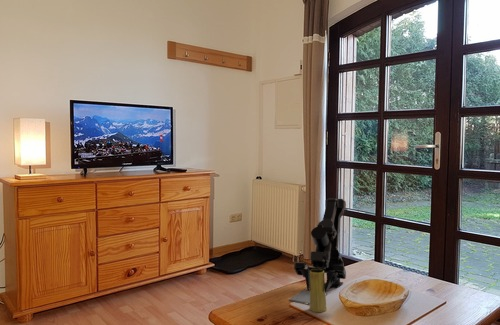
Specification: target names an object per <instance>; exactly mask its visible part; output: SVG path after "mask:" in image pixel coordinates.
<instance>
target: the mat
mask: <svg viewBox="0 0 500 325" xmlns="http://www.w3.org/2000/svg"><path fill="white" fill-rule="evenodd" d="M289 301H290V302H295V303H299V302H303V303H302V304H304V303H308V304H307V305H309V304H310V289H309V291H308V290H307V289H303V290H302V291H300V292H298V293H297V294H295V295H293V296H292V297H290V298H289Z"/></svg>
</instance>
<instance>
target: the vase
mask: <svg viewBox="0 0 500 325" xmlns="http://www.w3.org/2000/svg"><path fill="white" fill-rule="evenodd" d="M325 283H326V281H325V273H324V270H322V269H311V270H310V289H309V290H310V305H309V311H311V312H313V313H324V312H326V311H327V310H328V309H327V299H326V298H327V297H326V296H327V295H326V296H325Z"/></svg>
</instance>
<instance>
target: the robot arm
mask: <svg viewBox="0 0 500 325" xmlns="http://www.w3.org/2000/svg"><path fill="white" fill-rule="evenodd" d="M346 202H347V201H345V199H344V198H327V199H325V203H324V204H325V209H324V213H323V218H322V220H320V221H319V222H318V224H317V226H315V227H313V229H312V230H311V231H310V235H311V238H312V241H313V244H314V246H315V250H314V251H310V258H309V260H310V261H311V262H310V264H311V265H308V264H307V263H306V262H304V261H296V262H294V266H293V269H294V271H295V273H296V275H298V276H302V277H303V278H305V285H306V290H308V291H309V290H310V270H311V269H322V270H324V274H325V275H326V281H325V293H327V292H328V291H329V290H330V288H331V287H332V288H336V287H338V288H339V287H340V286H342V285H343V284H344V282H343V281H341V279H342V280H345V279H347V271H346V267H345V264H344V260H343V258H342V255H341V253H340V251H339V239H340V227H341V226H340V224H341V218H342V217H343V215H344V214H345V210H346V208H347V204H346Z"/></svg>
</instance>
